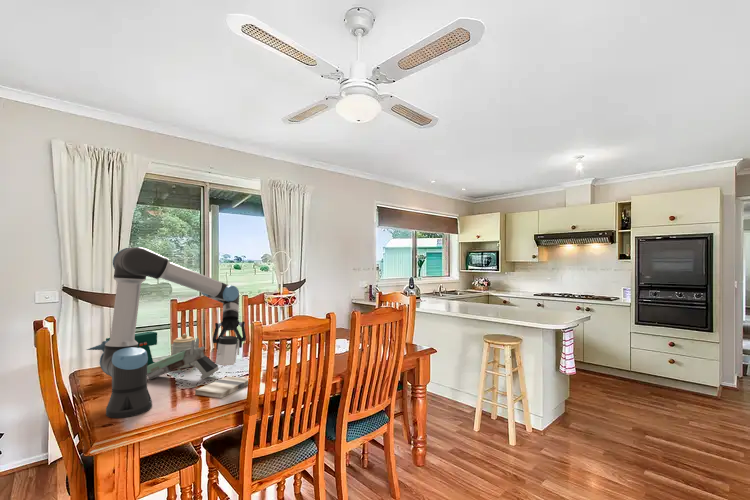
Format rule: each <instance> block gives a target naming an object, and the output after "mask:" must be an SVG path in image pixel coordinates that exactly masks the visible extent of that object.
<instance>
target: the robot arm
mask: <svg viewBox="0 0 750 500" xmlns="http://www.w3.org/2000/svg"><path fill="white" fill-rule="evenodd" d="M112 266H113V269H114V273H113V279H114V280H115V282H116V290H115V297H114V307H113V313H112V314H113V315H112V321H111V329H110V337H109V338H110V340H109V341H108V342H107V343H106V344H105V348H104V352H103V351H102V352H103V353H101V355H100V357H99V366H100V368H101V370H102V372H103V373H105V374H106V375H107V376H110V377H111V394H110V397H109V400H108V403H107V406H106V408H105V416H106V417H108V418H110V419H121V418H123V419H124V418H130V417H134V416H137V415H140V414H143V413H145V412H147V411H149V410H151V409H152V407H153V401H152V397H151V395H150V392H149V389H148V376H147V361H148V356H147V351H146V350H144V349H142V348H138V342H137V341H135V334H136V330H137V323H138V322H137V320H138V315H139V314H138V312H139V306H140V296H141V289H142V288H141V287H142V283H144V282H145V281H146V279H147V277H148V278H151V279H152V278H153V279H155V280H159V279H162V280H166V281H167V282H171V283H174V284H177V285H180V286H182V287H184V288H189V289H191V290H194V291H197V292H200V293H201V295H203V296H205V298H209V299H212V300H214V301H217V302H219V303H222V316H221V317H222V320H221V322H220V323H218V322H215V323H214V326H215V328H214V332H213V337H212V343H213V344H216V346H215V349H216V350H217V349H218V343H219V337H221V336H225V334H226V333H227V332H229V331H233V332H234V334H235V337H238V341H237V343H238V344H237V355H236V356H239V355H240V348H243V342H246V341H247V335H246V329H245V326H246V323H245V321H239V315H240V314H239V313H240V312H239V311H240V308H239V307H240V305H239V304H240V291H239V288H237V286H235V285H232V284H227V283H225V282H223V281H219V280H217V279H214V278H212V277H209V276H207V275H205V274H202V273H199V272H196V271H194V270H191V269H189V268H187V267H184V266H181V265H178V264H176V263H174V262H171V261H170V259H169V258H168V257H166V256H164V255H163V256H162V255H161V254H158V253H156V252H154V251H153V250H150V249H148V248H145V247H140V246H137V247H125V248H123V249H121V250H119V251H118V252H116V253H115V254H114V256H113V259H112ZM239 326H240V327H241V333H240V331H239V330H238V327H239ZM221 327H222V329H221ZM220 329H221V332H220V333H219V331H220ZM218 334H219V335H218ZM241 334H242V336H241ZM218 355H220V350H219V352H218Z"/></svg>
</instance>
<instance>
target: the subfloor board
mask: <svg viewBox="0 0 750 500" xmlns="http://www.w3.org/2000/svg"><path fill="white" fill-rule="evenodd" d="M248 379H249V378H245V377H237V376H236V377H235V376H228V375H227V376H225V377H222V378H219V379H217V380H215V381H212V382H210V383H208V384H205V385H204V386H201V387H198V388H195V391H194V394H195V395H197V396H205V397H211V398H218V399H222V398H224V397H226V396H229V395H230V394H232V393H234V392H236V391H238V390H240V389H243V388H244V387H247V386H248Z"/></svg>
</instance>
